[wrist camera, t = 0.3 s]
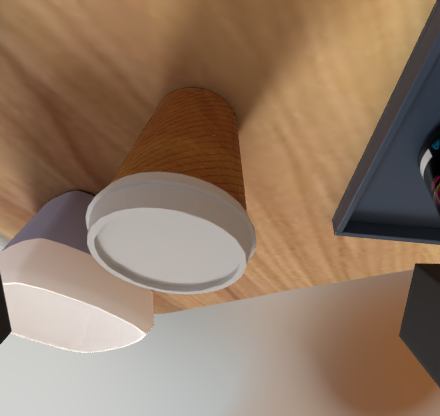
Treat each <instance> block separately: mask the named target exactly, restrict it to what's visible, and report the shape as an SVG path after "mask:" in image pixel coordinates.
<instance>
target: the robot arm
mask: <svg viewBox="0 0 440 416" xmlns="http://www.w3.org/2000/svg"><path fill="white" fill-rule="evenodd" d="M11 332H12V330H11V325H10V320H9V314H8V309H7V304H6V299H5V294H4V289H3V284H2V279H1V274H0V344H1V343H2V342H3V341H4V340H5V339H6V337H7V336H8V335H9V334H10V333H11ZM399 336H400V338H401V339H402V340H403V341H404V343H405V344H406V345H407V346H408V348H409V349H410V350H411V352H412V353H413V354H414V356H415V357H416V358H417V359H418V361H419V362H420V363H421V365H422V366H423V367H424V368H425V370H426V371H427V372H428V373H429V375H430V376H431V377H432V379H433V380H434V381H435V382H436V384H437V385H438V386H439V388H440V264H415V268H414V272H413V277H412V281H411V285H410V290H409V294H408V298H407V303H406V307H405V312H404V316H403V320H402V325H401V329H400V334H399Z"/></svg>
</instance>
